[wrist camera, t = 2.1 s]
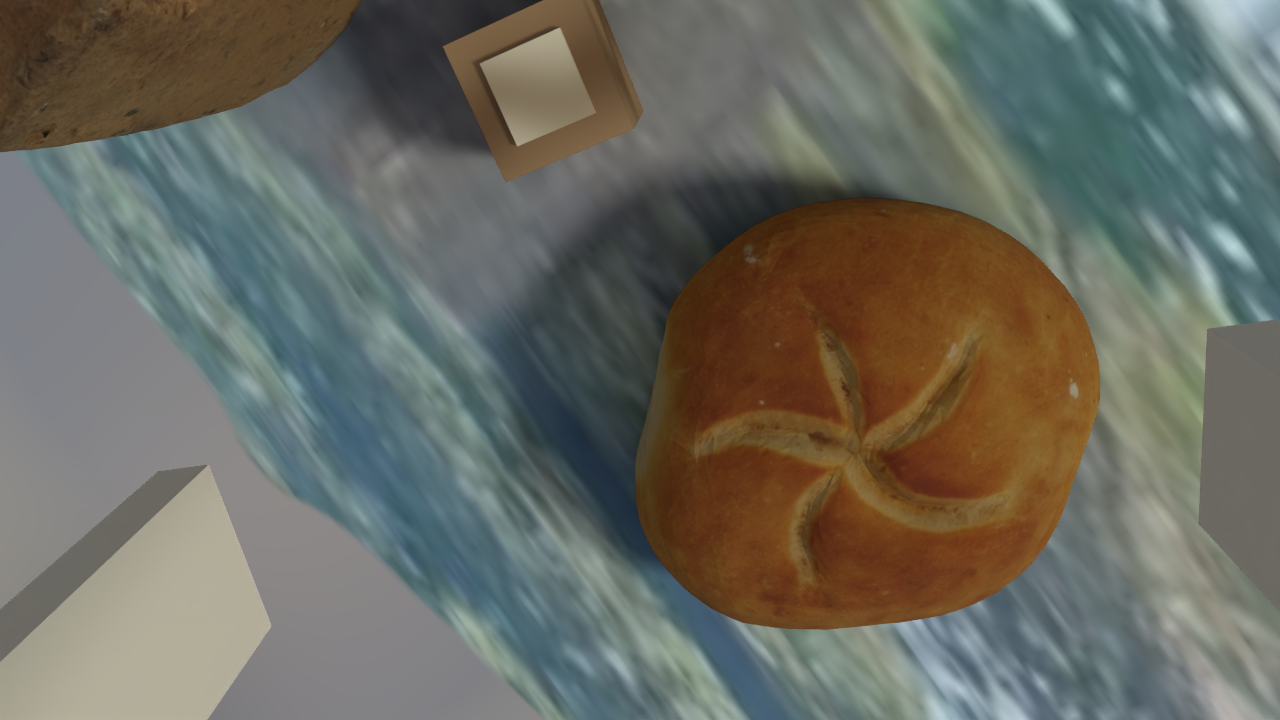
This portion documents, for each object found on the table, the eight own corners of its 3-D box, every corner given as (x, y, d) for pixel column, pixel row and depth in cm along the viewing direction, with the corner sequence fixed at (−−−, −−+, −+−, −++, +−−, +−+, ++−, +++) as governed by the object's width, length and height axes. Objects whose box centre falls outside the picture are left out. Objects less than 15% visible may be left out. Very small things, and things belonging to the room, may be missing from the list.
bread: (544, 298, 48) (504, 372, 39) (984, 96, 43) (1060, 126, 33) (724, 629, 55) (727, 758, 46) (1121, 490, 50) (1215, 605, 40)
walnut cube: (477, 39, 43) (440, 46, 37) (593, -14, 42) (574, -15, 36) (531, 158, 45) (504, 183, 39) (643, 110, 44) (632, 129, 38)
